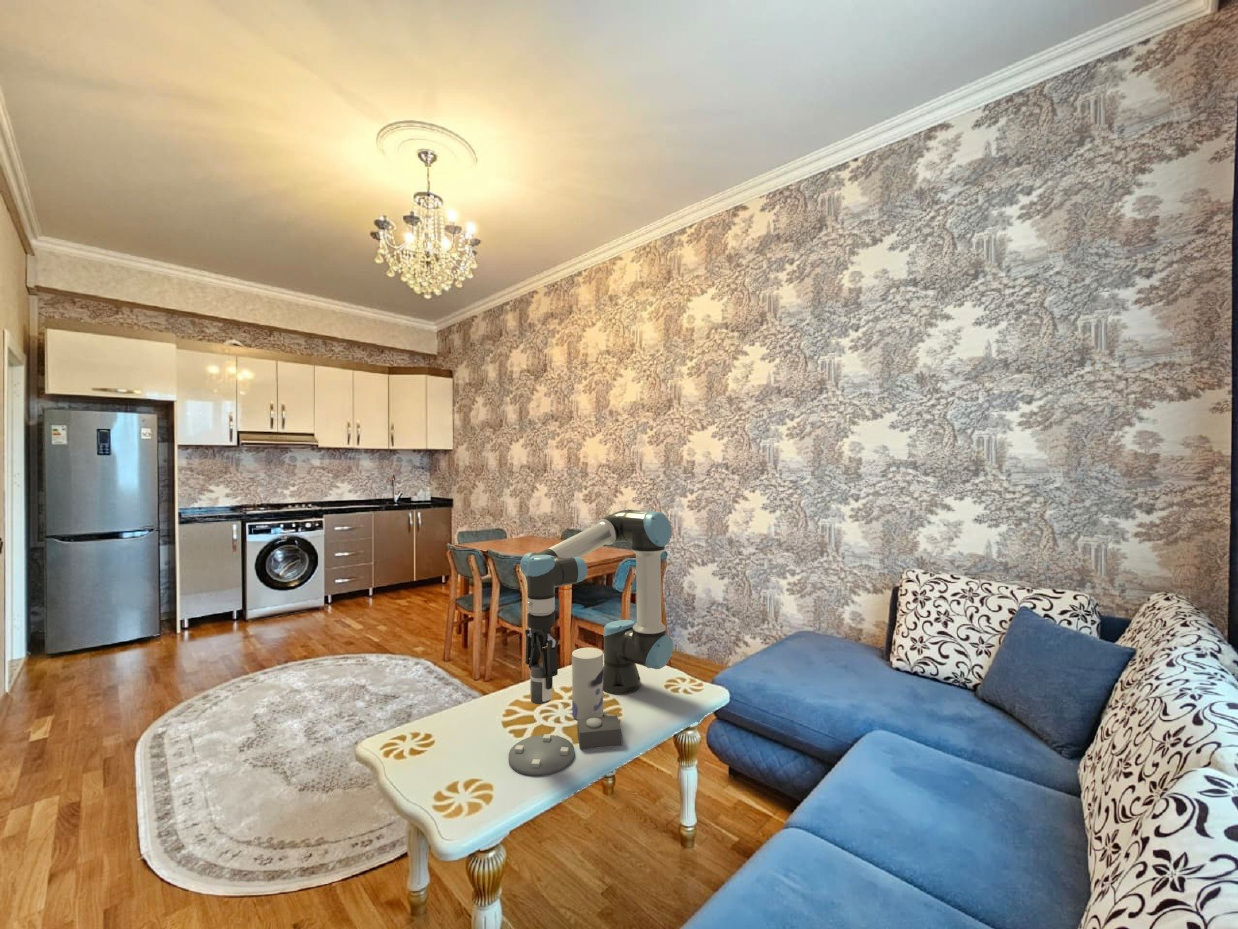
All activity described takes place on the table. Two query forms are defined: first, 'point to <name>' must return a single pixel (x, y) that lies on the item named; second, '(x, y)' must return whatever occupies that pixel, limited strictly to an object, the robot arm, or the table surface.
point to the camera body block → (599, 732)
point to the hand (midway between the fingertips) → (541, 695)
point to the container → (587, 683)
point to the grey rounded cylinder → (537, 684)
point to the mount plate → (541, 755)
